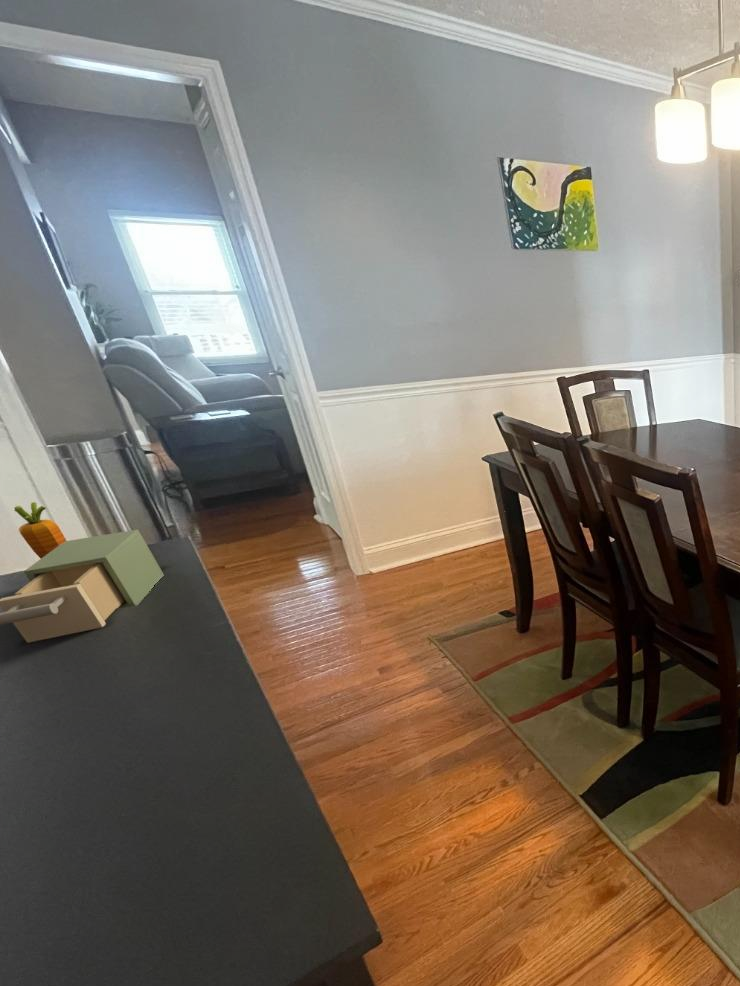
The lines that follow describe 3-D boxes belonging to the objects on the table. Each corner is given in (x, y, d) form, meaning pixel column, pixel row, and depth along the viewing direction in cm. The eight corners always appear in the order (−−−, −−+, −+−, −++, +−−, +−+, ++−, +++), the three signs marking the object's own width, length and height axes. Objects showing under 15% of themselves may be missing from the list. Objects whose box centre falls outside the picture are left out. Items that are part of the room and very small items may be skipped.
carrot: (76, 570, 116) (29, 498, 109) (95, 571, 115) (49, 499, 108) (44, 582, 111) (-6, 508, 104) (64, 584, 110) (14, 509, 103)
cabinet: (136, 606, 102) (105, 557, 97) (58, 622, 98) (22, 571, 94) (164, 575, 112) (138, 529, 107) (95, 588, 108) (64, 541, 104)
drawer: (89, 645, 90) (59, 601, 86) (10, 662, 87) (-25, 617, 83) (135, 596, 103) (111, 556, 99) (68, 609, 100) (40, 568, 96)
